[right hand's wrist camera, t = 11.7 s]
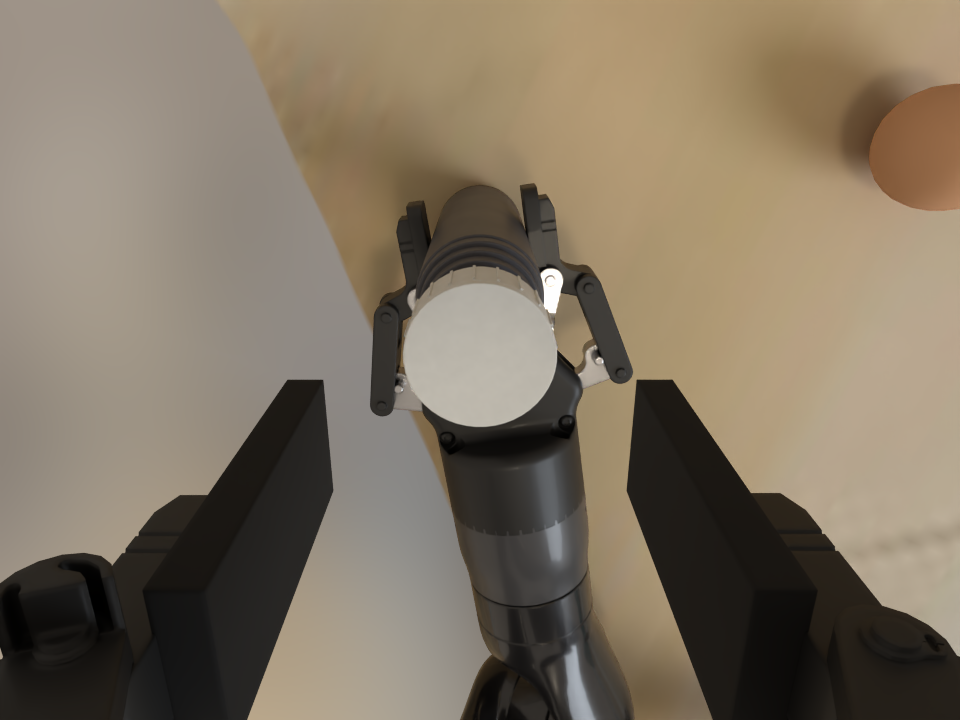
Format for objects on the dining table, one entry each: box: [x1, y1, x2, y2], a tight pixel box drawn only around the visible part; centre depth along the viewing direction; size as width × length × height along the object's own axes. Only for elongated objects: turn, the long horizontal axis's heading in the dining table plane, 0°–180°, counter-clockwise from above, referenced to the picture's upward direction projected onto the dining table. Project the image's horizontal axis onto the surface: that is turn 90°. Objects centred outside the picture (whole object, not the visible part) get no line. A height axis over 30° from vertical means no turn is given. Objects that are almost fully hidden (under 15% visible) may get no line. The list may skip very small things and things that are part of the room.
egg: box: [869, 84, 960, 211], centre depth 33 cm, size 6×6×8 cm
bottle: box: [415, 186, 545, 304], centre depth 29 cm, size 5×5×21 cm
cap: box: [403, 265, 558, 427], centre depth 20 cm, size 4×4×2 cm
